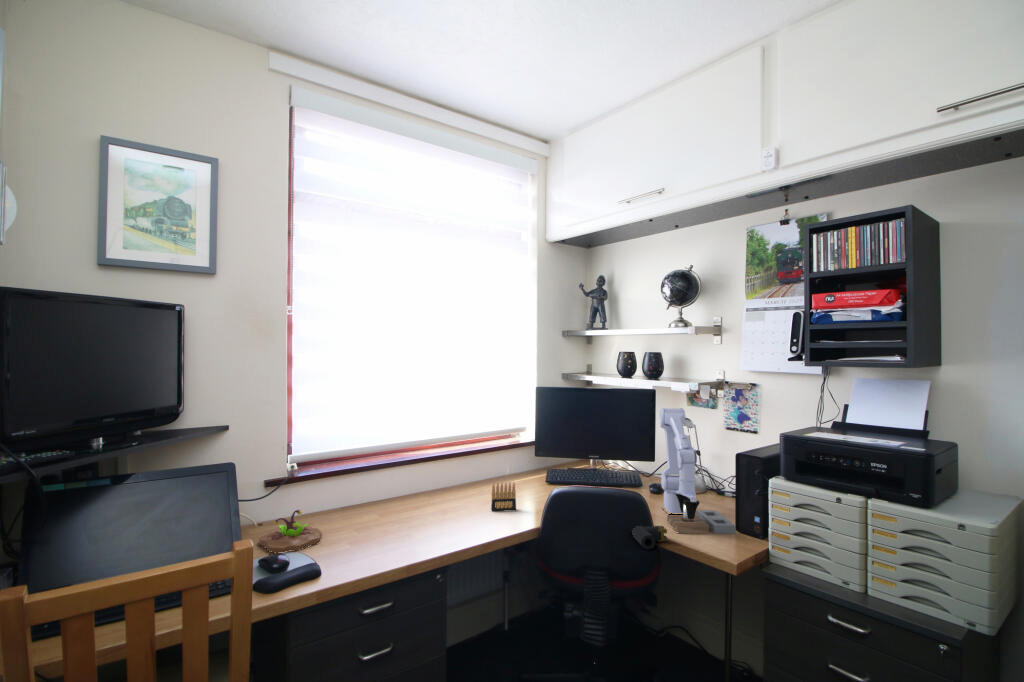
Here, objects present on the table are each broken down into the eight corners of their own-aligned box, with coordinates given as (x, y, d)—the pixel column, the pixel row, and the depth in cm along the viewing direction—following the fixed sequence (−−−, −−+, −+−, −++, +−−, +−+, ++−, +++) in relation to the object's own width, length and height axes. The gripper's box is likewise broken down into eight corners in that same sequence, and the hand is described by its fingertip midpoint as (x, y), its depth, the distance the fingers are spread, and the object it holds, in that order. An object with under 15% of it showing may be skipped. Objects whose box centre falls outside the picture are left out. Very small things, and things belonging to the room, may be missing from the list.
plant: (330, 543, 177) (331, 511, 178) (273, 558, 164) (273, 524, 164) (308, 528, 192) (309, 499, 192) (254, 541, 178) (254, 510, 179)
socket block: (667, 522, 198) (667, 515, 198) (697, 522, 198) (697, 515, 198) (677, 533, 186) (676, 525, 186) (708, 533, 186) (708, 525, 186)
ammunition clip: (515, 509, 215) (515, 481, 215) (516, 510, 213) (516, 482, 214) (491, 510, 214) (491, 482, 214) (491, 511, 212) (491, 483, 212)
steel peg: (682, 526, 193) (682, 503, 194) (689, 526, 193) (689, 503, 194) (684, 529, 190) (684, 505, 191) (692, 529, 190) (692, 505, 191)
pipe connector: (656, 519, 187) (673, 533, 172) (657, 533, 187) (673, 548, 172) (627, 520, 186) (641, 535, 171) (627, 534, 186) (641, 550, 171)
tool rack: (696, 517, 204) (696, 510, 204) (716, 517, 204) (716, 510, 204) (714, 533, 186) (714, 525, 186) (735, 533, 186) (735, 525, 186)
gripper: (670, 475, 200) (671, 509, 199) (683, 485, 185) (683, 521, 185) (688, 475, 200) (688, 509, 199) (701, 485, 185) (702, 521, 185)
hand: (687, 515), depth 192 cm, fingers open, 7 cm apart
